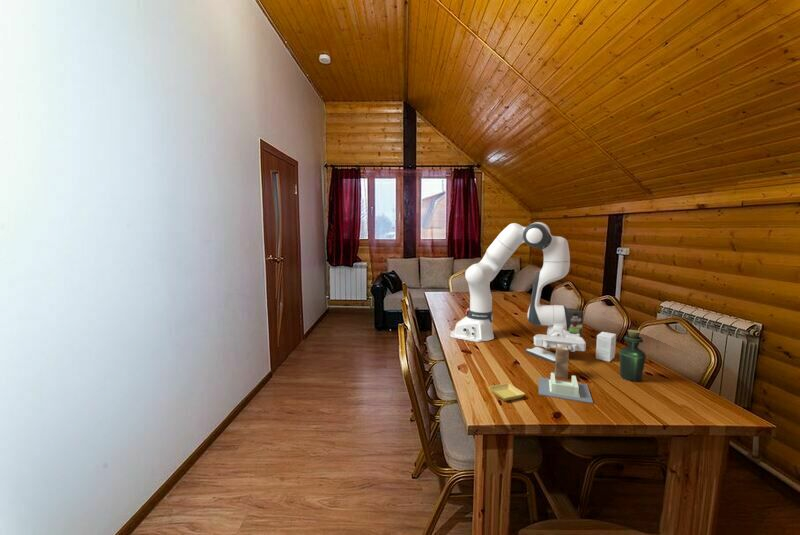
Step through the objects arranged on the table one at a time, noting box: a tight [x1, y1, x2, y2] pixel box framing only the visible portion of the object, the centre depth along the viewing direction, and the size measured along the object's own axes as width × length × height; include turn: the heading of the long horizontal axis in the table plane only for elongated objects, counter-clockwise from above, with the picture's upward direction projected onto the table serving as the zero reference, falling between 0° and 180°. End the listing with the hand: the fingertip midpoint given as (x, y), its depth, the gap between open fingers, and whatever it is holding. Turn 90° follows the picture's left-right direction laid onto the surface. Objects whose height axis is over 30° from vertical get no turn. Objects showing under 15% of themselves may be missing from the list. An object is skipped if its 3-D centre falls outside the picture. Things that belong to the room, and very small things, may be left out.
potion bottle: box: [618, 329, 647, 382], centre depth 125 cm, size 8×8×18 cm
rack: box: [549, 371, 580, 398], centre depth 116 cm, size 9×10×3 cm
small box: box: [595, 331, 617, 362], centre depth 145 cm, size 8×6×10 cm
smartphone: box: [524, 346, 556, 364], centre depth 148 cm, size 9×2×16 cm
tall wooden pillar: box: [554, 344, 570, 380], centre depth 127 cm, size 4×6×11 cm, turn 158°
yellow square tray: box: [488, 382, 526, 402], centre depth 112 cm, size 9×9×2 cm
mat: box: [537, 376, 594, 404], centre depth 116 cm, size 16×14×1 cm
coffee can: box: [566, 307, 584, 338], centre depth 175 cm, size 10×10×14 cm
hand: (559, 348), depth 138 cm, fingers open, 8 cm apart
